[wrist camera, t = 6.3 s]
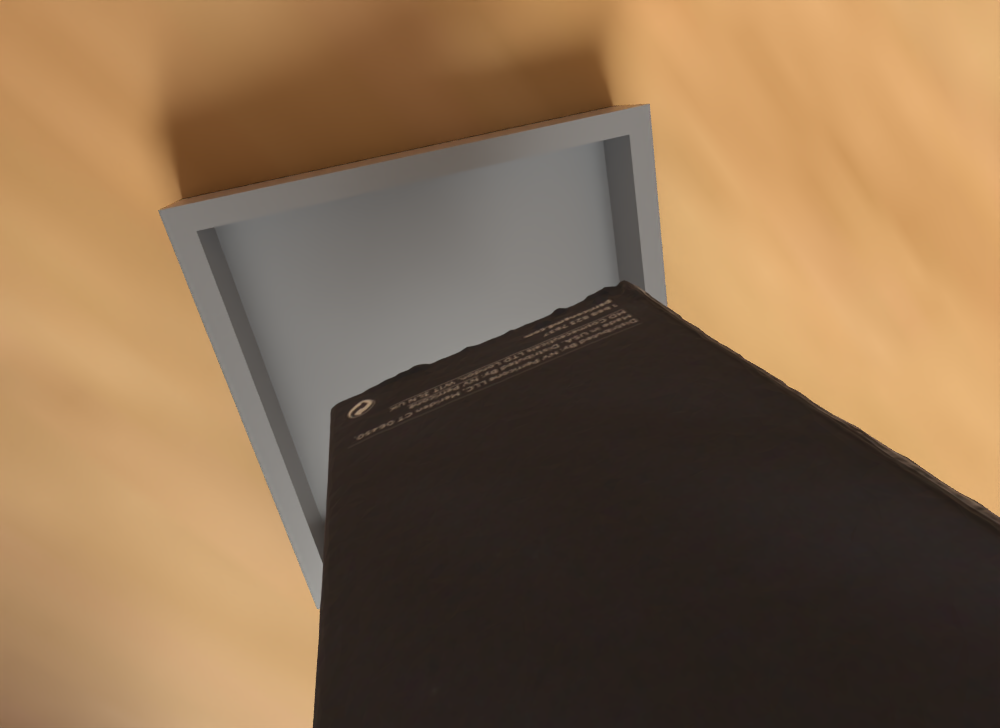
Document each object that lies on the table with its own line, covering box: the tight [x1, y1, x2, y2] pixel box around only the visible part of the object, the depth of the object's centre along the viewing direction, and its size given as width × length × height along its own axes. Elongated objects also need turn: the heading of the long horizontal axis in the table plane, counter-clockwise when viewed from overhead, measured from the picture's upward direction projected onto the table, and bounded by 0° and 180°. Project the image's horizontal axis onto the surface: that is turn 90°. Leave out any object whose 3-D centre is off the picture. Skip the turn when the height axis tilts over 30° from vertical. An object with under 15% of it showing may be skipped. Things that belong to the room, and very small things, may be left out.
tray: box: [158, 104, 667, 609], centre depth 24 cm, size 16×16×3 cm
